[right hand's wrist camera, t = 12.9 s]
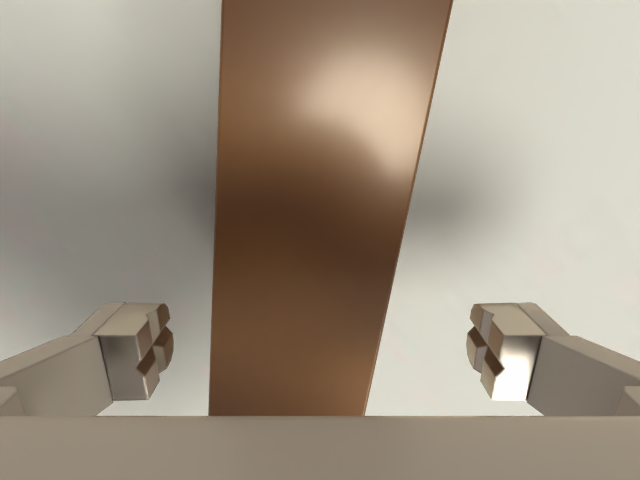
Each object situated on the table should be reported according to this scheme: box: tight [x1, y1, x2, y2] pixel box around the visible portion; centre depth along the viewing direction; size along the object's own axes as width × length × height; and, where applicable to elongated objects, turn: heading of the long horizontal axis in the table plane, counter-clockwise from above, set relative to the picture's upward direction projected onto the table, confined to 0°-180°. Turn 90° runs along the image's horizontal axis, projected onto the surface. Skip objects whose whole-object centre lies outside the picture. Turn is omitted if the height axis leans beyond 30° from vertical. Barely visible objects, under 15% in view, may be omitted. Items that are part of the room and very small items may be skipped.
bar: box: [208, 0, 453, 416], centre depth 13 cm, size 22×5×9 cm, turn 173°
